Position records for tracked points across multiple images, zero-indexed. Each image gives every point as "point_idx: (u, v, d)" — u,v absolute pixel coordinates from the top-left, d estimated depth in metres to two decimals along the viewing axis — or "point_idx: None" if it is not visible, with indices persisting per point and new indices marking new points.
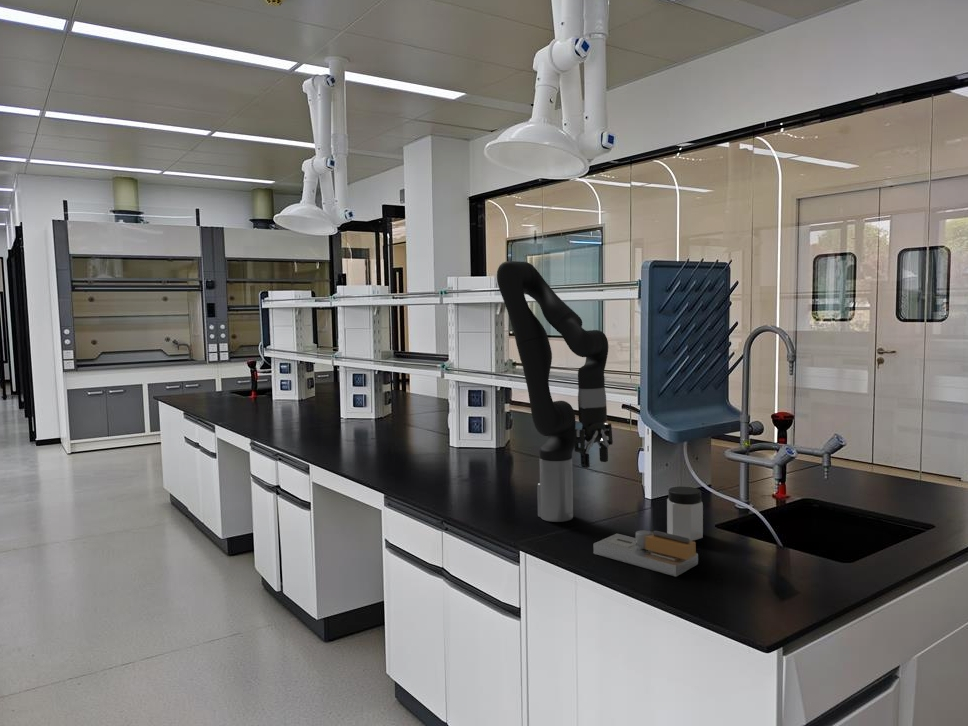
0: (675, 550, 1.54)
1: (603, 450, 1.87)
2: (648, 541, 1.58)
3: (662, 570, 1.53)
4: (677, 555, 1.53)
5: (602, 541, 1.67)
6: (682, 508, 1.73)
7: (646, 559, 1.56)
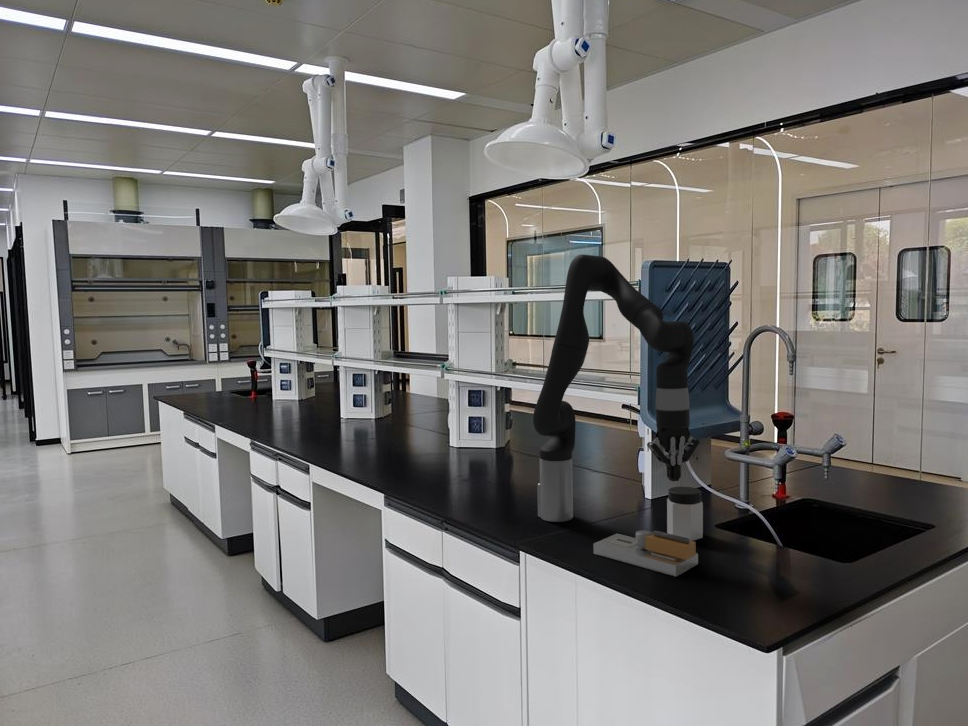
0: (675, 550, 1.54)
1: None
2: (648, 541, 1.58)
3: (662, 570, 1.53)
4: (677, 555, 1.53)
5: (602, 541, 1.67)
6: (682, 508, 1.73)
7: (646, 559, 1.56)
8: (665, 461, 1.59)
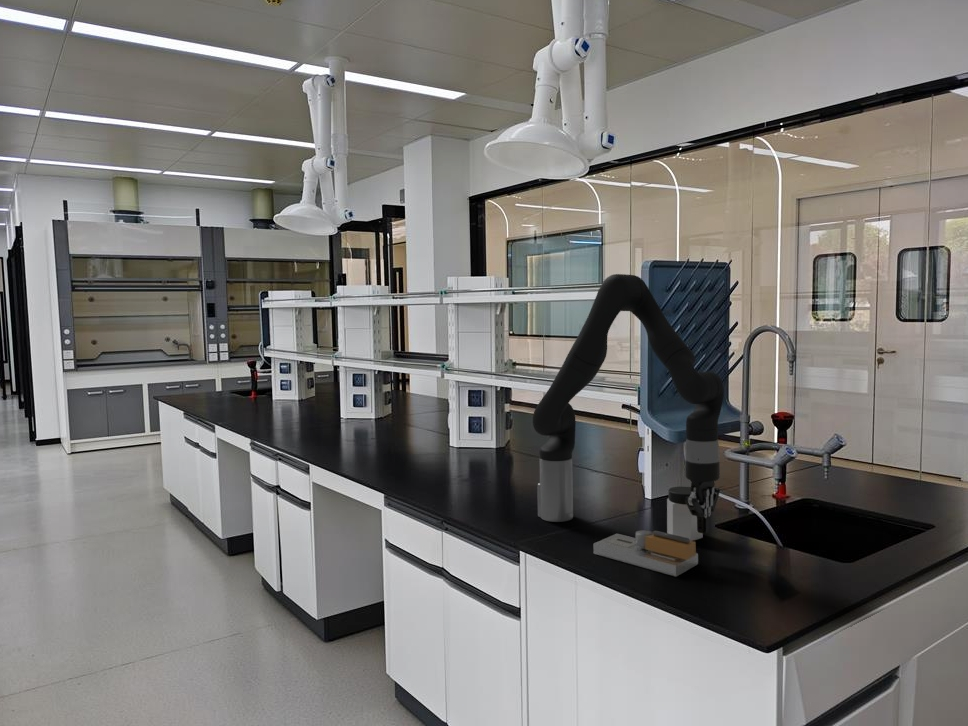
0: (675, 550, 1.54)
1: None
2: (648, 541, 1.58)
3: (662, 570, 1.53)
4: (677, 555, 1.53)
5: (602, 541, 1.67)
6: (682, 508, 1.73)
7: (646, 559, 1.56)
8: (701, 514, 1.56)
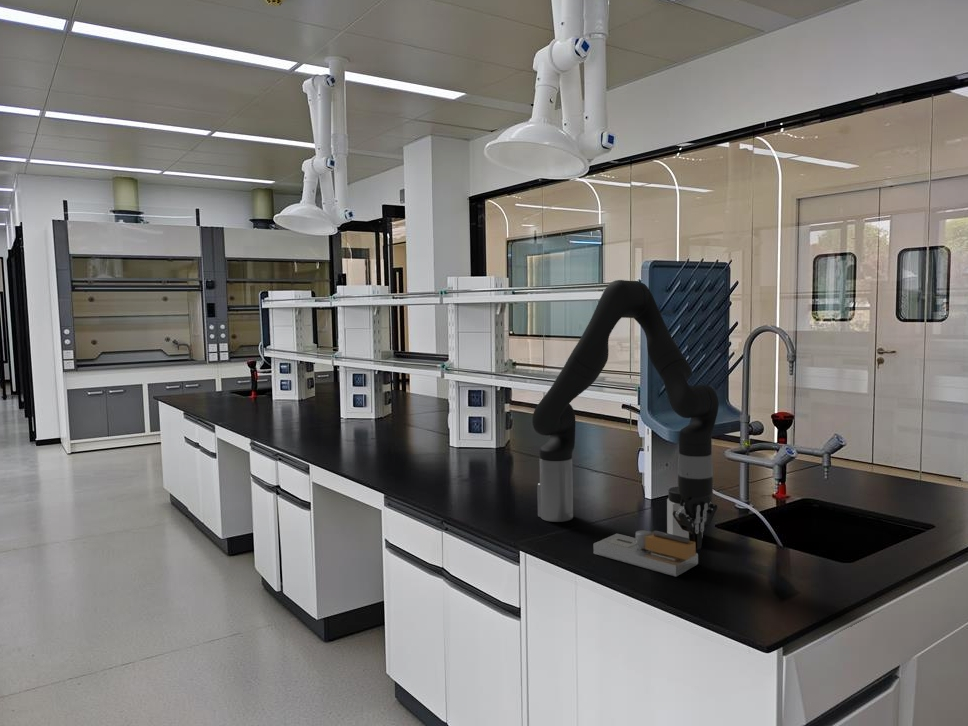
0: (675, 550, 1.53)
1: None
2: (648, 541, 1.58)
3: (662, 570, 1.53)
4: (677, 555, 1.53)
5: (602, 541, 1.67)
6: None
7: (646, 559, 1.56)
8: (691, 530, 1.54)
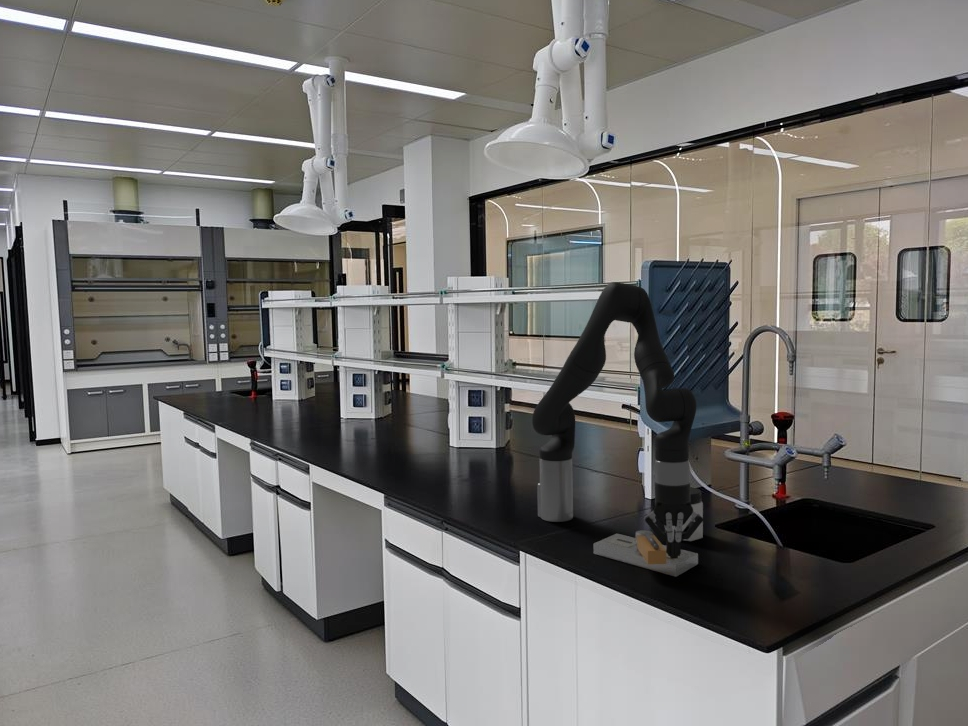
0: (645, 553, 1.52)
1: None
2: (638, 540, 1.59)
3: (662, 570, 1.53)
4: (645, 558, 1.52)
5: (602, 541, 1.67)
6: None
7: None
8: (660, 537, 1.49)
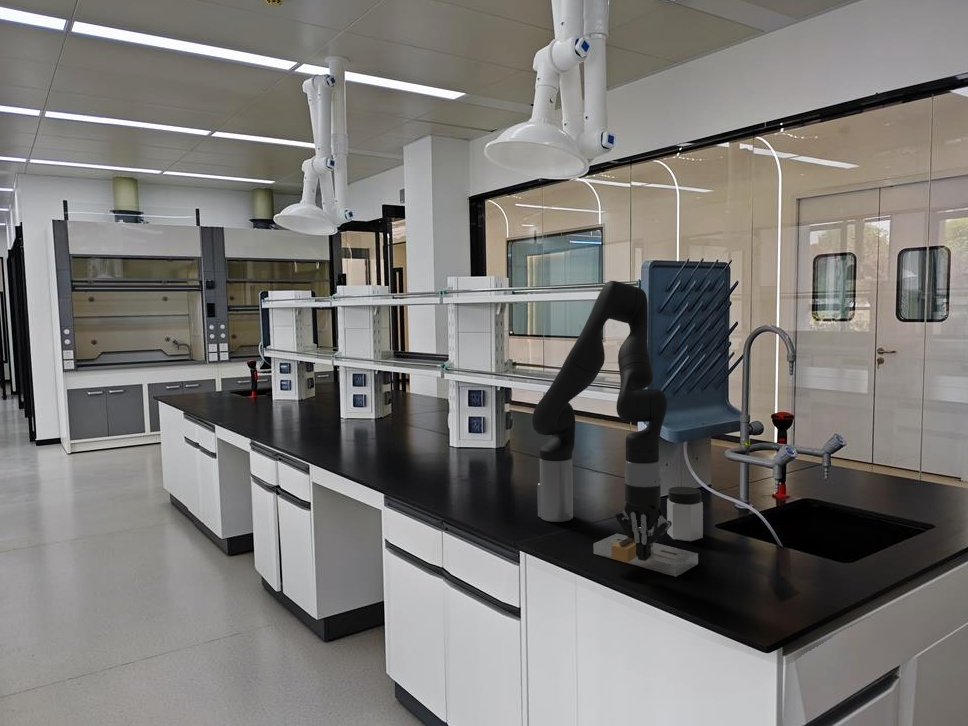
0: None
1: None
2: None
3: (662, 570, 1.53)
4: None
5: (602, 541, 1.67)
6: (682, 508, 1.73)
7: None
8: (628, 535, 1.50)
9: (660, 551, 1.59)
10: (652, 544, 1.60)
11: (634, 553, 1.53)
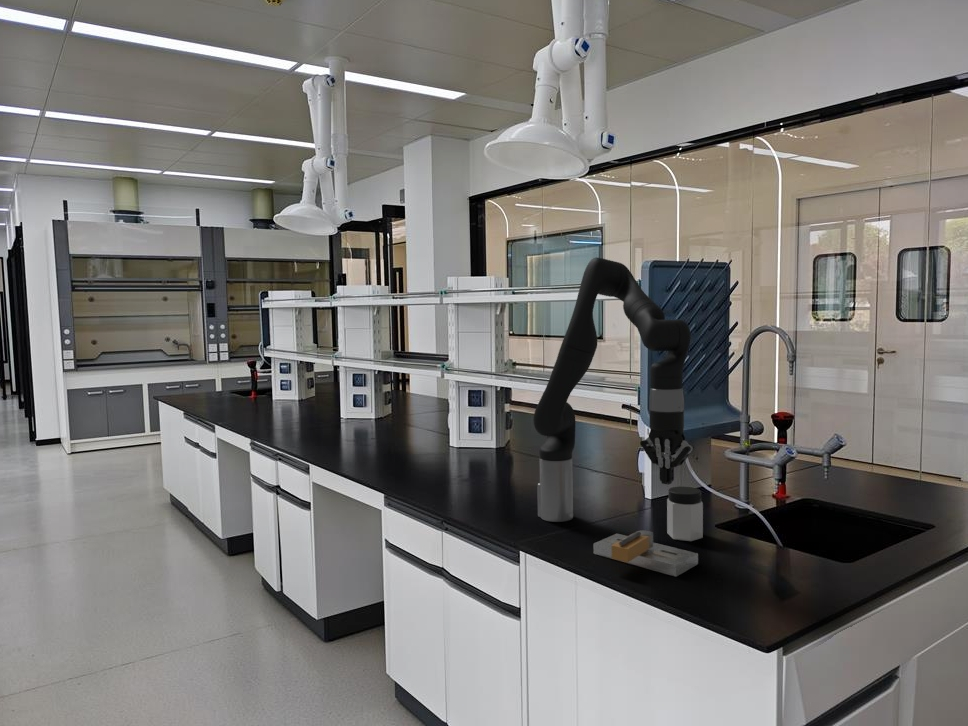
0: None
1: None
2: None
3: (662, 570, 1.53)
4: None
5: (602, 541, 1.67)
6: (682, 508, 1.73)
7: (646, 559, 1.56)
8: (652, 461, 1.57)
9: (660, 551, 1.59)
10: (652, 544, 1.60)
11: (634, 553, 1.53)
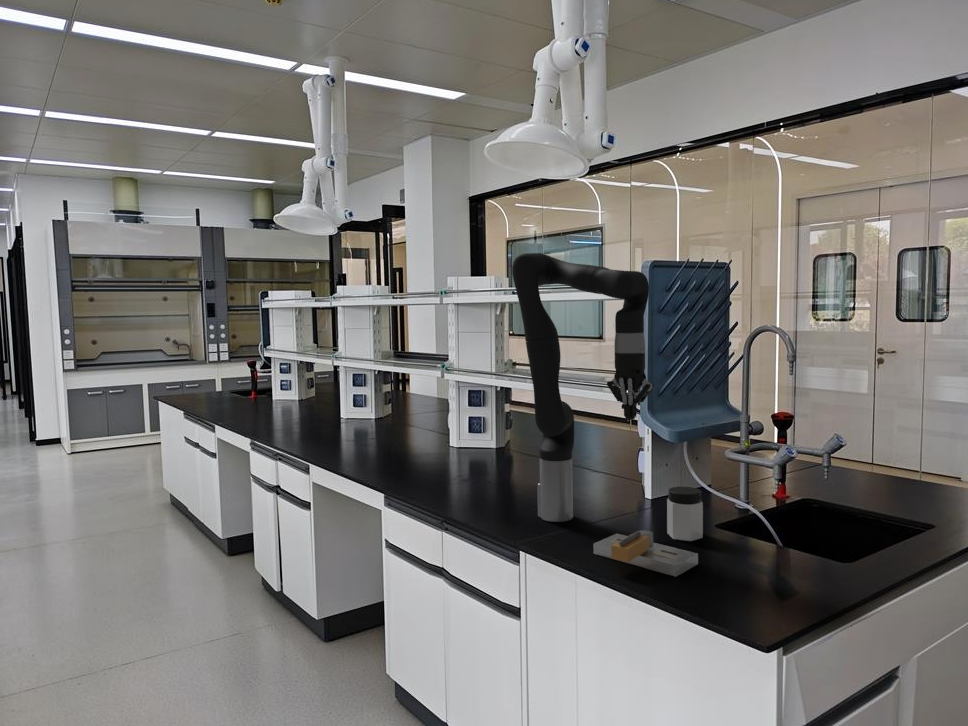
0: None
1: None
2: None
3: (662, 570, 1.53)
4: None
5: (602, 541, 1.67)
6: (682, 508, 1.73)
7: (646, 559, 1.56)
8: (617, 399, 1.74)
9: (660, 551, 1.59)
10: (652, 544, 1.60)
11: (634, 553, 1.53)
